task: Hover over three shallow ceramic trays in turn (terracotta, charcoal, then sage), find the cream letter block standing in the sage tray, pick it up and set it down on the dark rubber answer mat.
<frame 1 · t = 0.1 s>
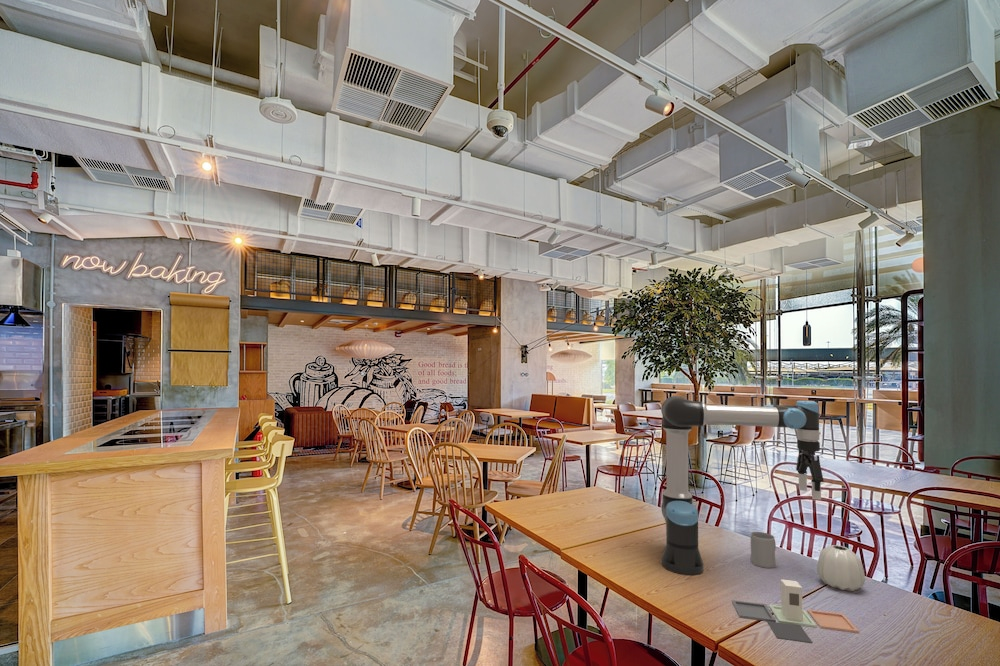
hand: (809, 494, 188), 28 cm above the table, fingers open, 13 cm apart
tray sage: (791, 617, 148), on the table
answer mat: (789, 633, 139), on the table
vase: (840, 586, 171), on the table
mug: (765, 563, 190), on the table
tray terracotta: (832, 623, 145), on the table
tray charcoal: (753, 612, 150), on the table
letter block: (791, 616, 148), resting on tray sage
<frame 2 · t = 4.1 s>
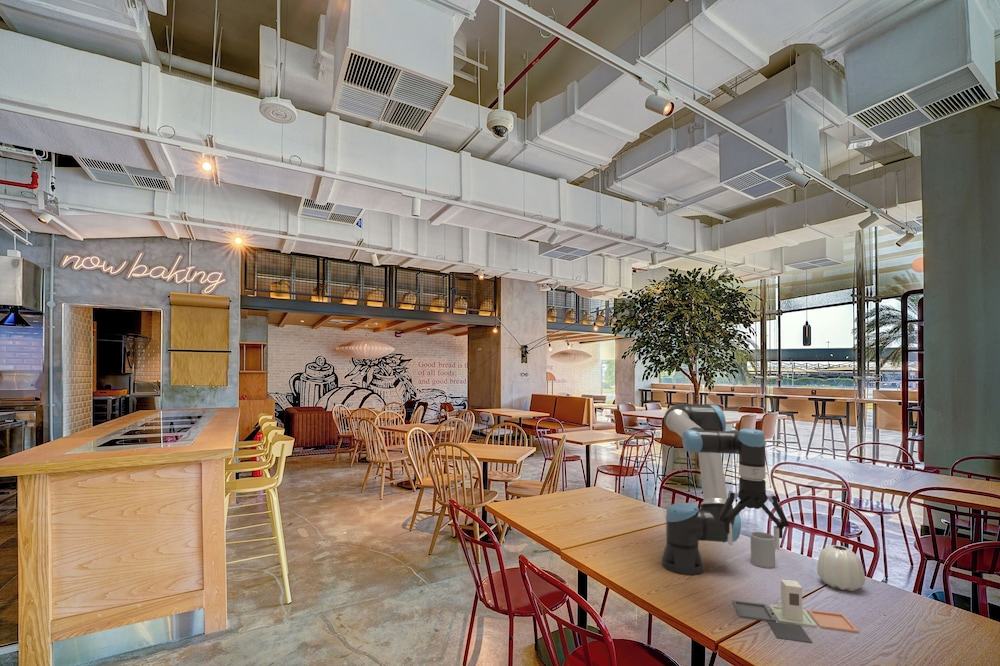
hand: (753, 546, 152), 21 cm above the table, fingers open, 13 cm apart
nothing on the table moved.
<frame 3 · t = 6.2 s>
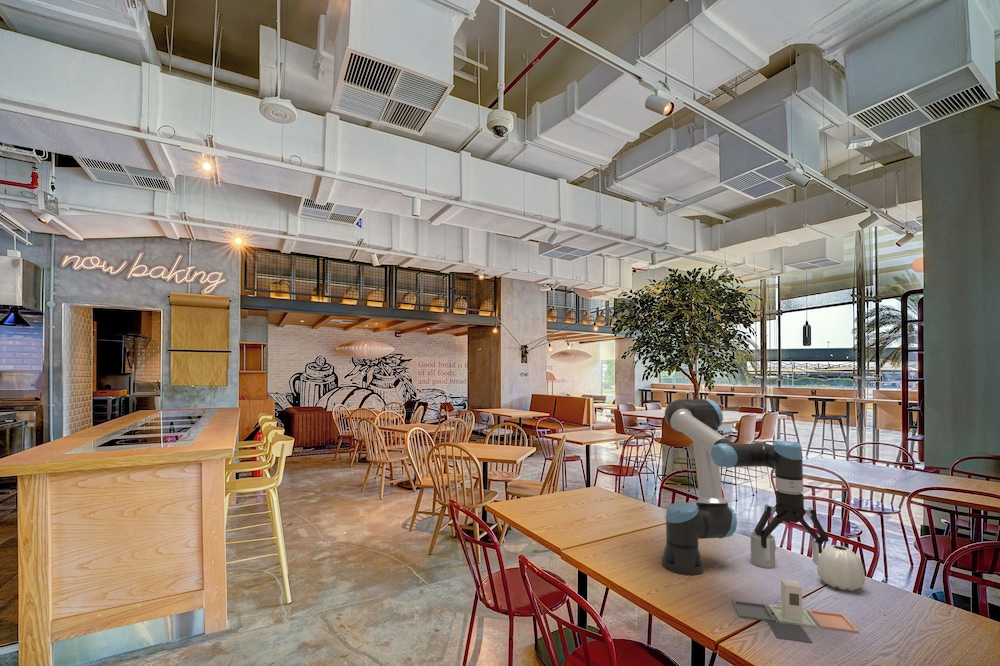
hand: (791, 561, 149), 17 cm above the table, fingers open, 13 cm apart
nothing on the table moved.
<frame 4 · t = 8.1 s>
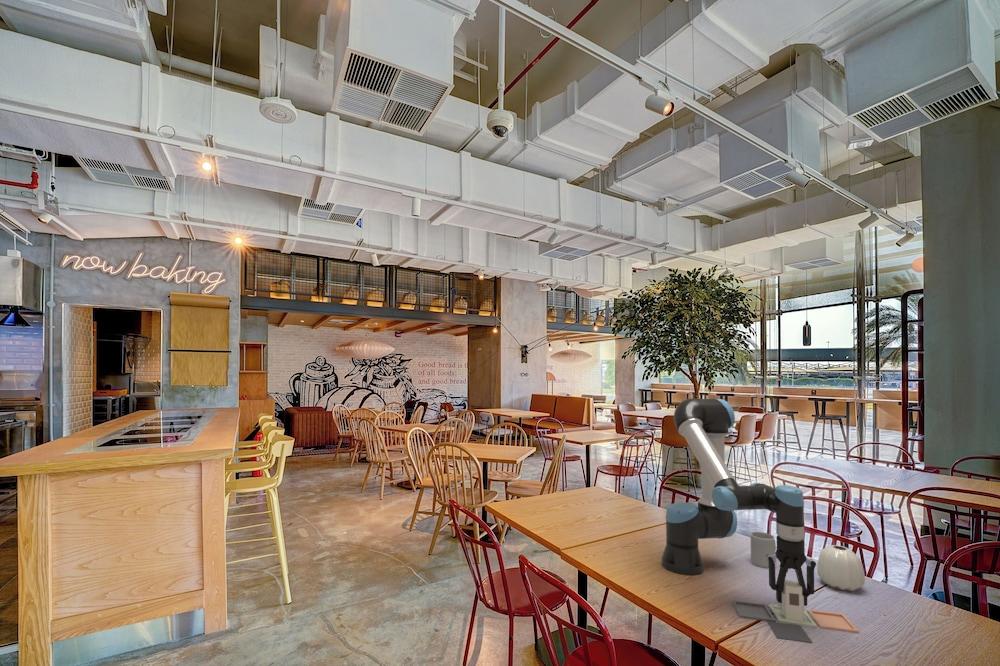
hand: (791, 614, 148), 1 cm above the table, fingers closed on letter block, 4 cm apart
letter block: (791, 616, 148), resting on tray sage, touching gripper
everything else where it was.
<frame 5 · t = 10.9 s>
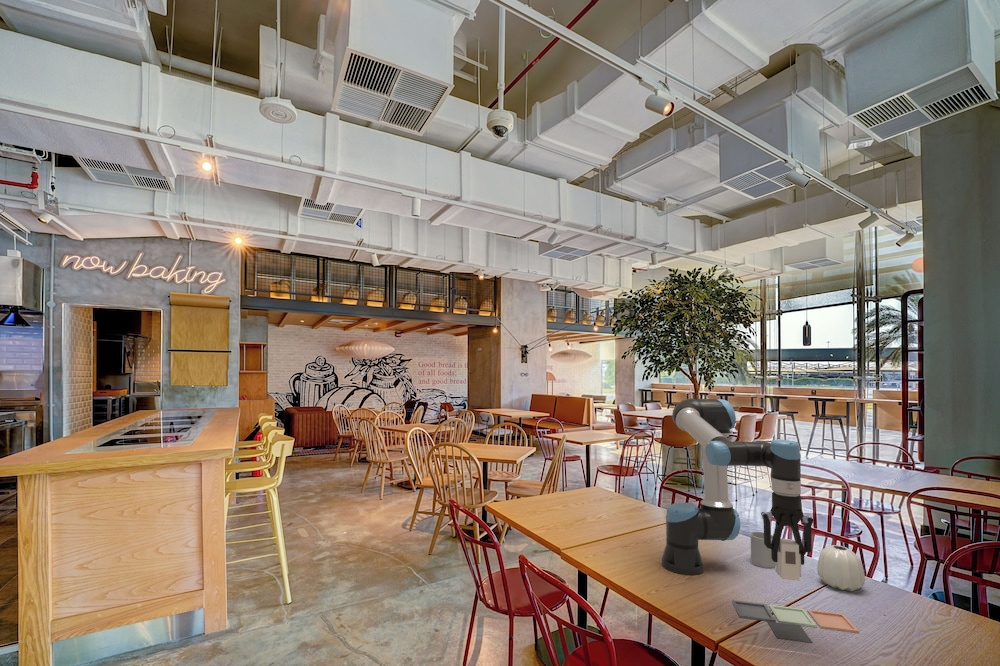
hand: (788, 574, 140), 17 cm above the table, fingers closed on letter block, 4 cm apart
letter block: (788, 576, 140), point 16 cm above the table, touching gripper
everything else where it was.
when the fingers open (3 cm above the table, at t = 13.5 s): letter block drops 2 cm, resting on answer mat.
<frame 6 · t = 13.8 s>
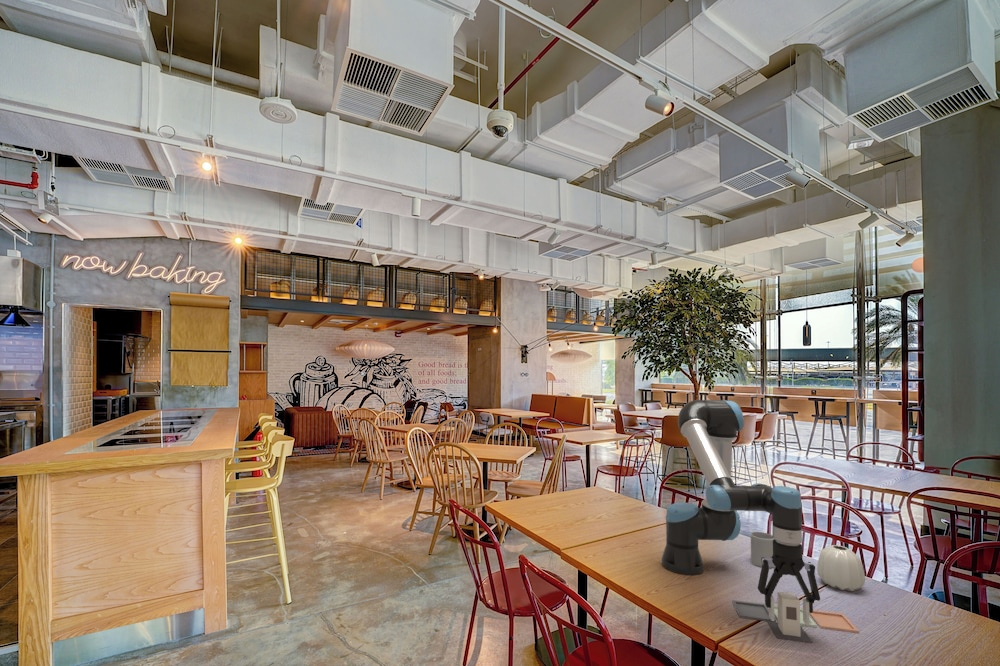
hand: (788, 620, 139), 4 cm above the table, fingers open, 8 cm apart
letter block: (789, 631, 139), point 1 cm above the table, touching answer mat
everything else where it was.
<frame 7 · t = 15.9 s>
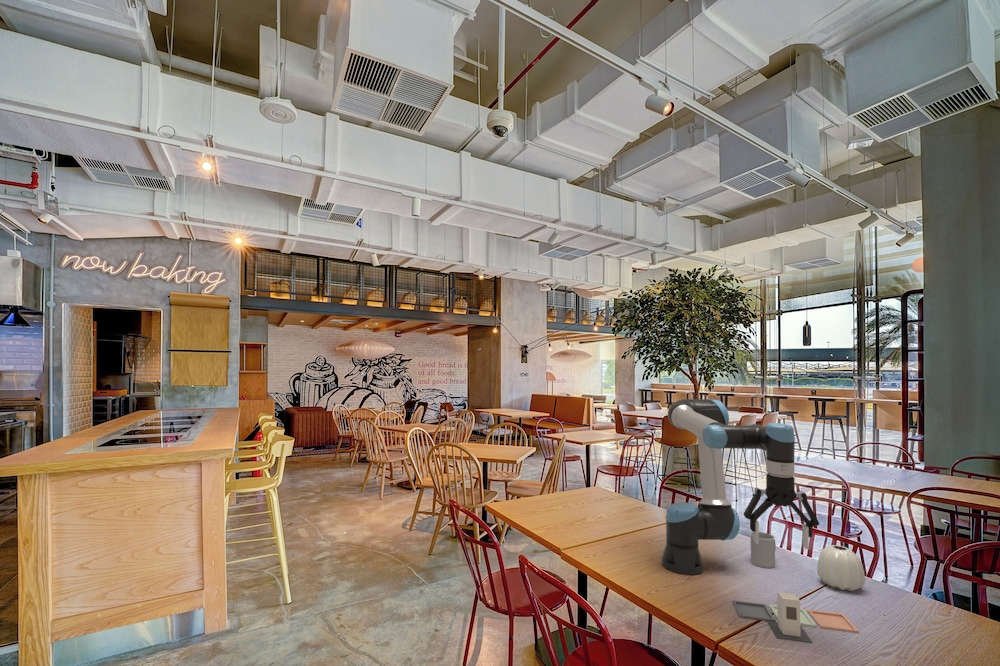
hand: (780, 544, 146), 23 cm above the table, fingers open, 13 cm apart
nothing on the table moved.
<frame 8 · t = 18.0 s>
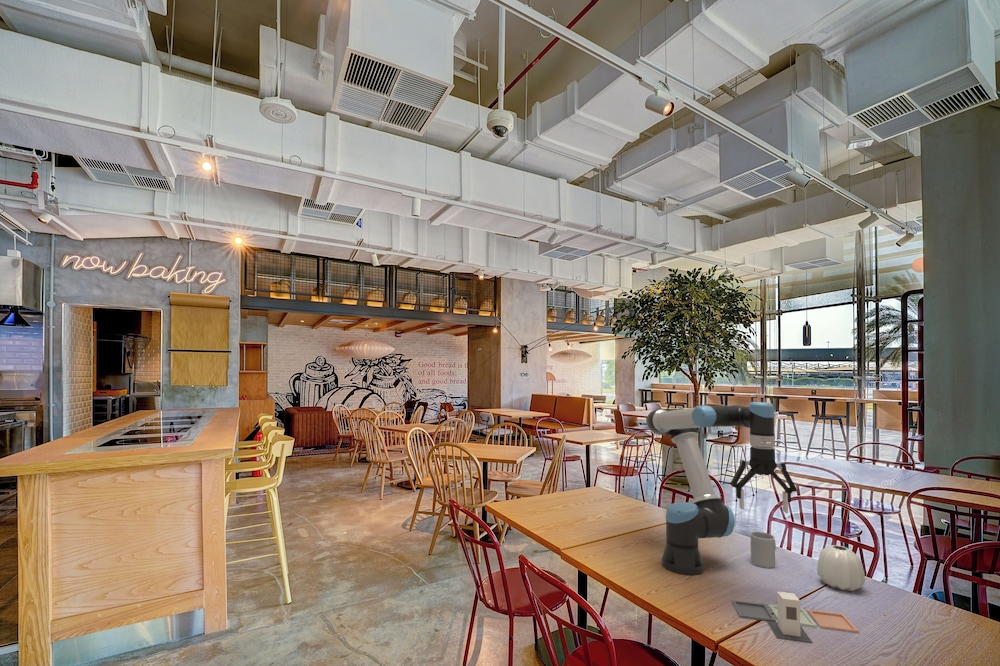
hand: (763, 510, 163), 29 cm above the table, fingers open, 13 cm apart
nothing on the table moved.
at the end: letter block inside the target area on the answer mat (0.0 cm from its centre), point 0.6 cm above the answer mat's base; letter block tilted 0°; the gripper is holding nothing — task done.
